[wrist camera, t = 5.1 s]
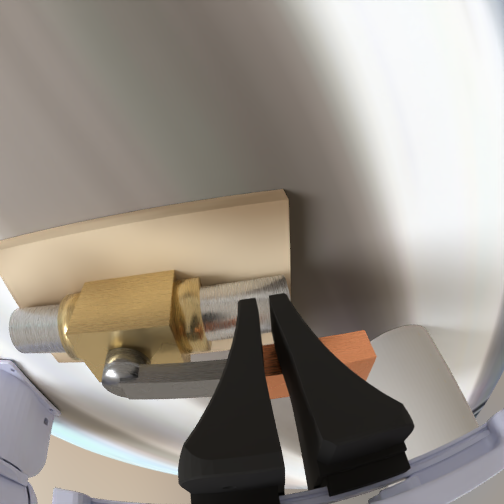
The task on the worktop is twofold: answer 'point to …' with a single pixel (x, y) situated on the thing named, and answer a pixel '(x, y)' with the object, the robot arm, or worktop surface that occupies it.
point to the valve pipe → (141, 318)
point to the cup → (420, 388)
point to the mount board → (154, 249)
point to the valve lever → (216, 370)
